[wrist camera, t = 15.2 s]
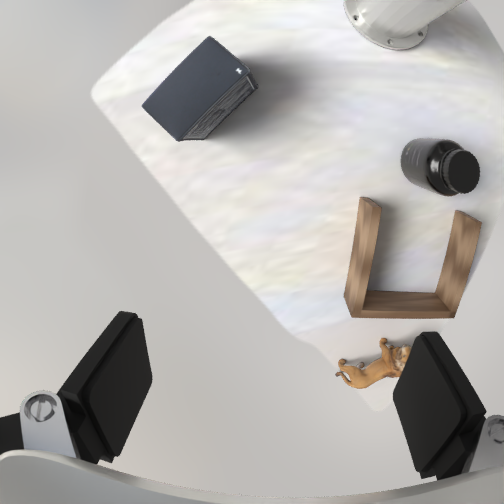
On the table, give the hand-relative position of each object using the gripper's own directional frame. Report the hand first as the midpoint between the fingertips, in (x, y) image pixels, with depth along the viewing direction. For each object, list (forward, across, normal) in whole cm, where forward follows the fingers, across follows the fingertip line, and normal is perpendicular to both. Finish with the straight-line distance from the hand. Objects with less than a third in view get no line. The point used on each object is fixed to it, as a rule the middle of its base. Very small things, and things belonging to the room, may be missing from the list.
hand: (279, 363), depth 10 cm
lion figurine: (+34, -19, +26) cm, 46 cm away
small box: (+34, +9, -12) cm, 37 cm away
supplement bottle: (+34, -20, -6) cm, 39 cm away
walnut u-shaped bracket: (+33, -20, +7) cm, 39 cm away
